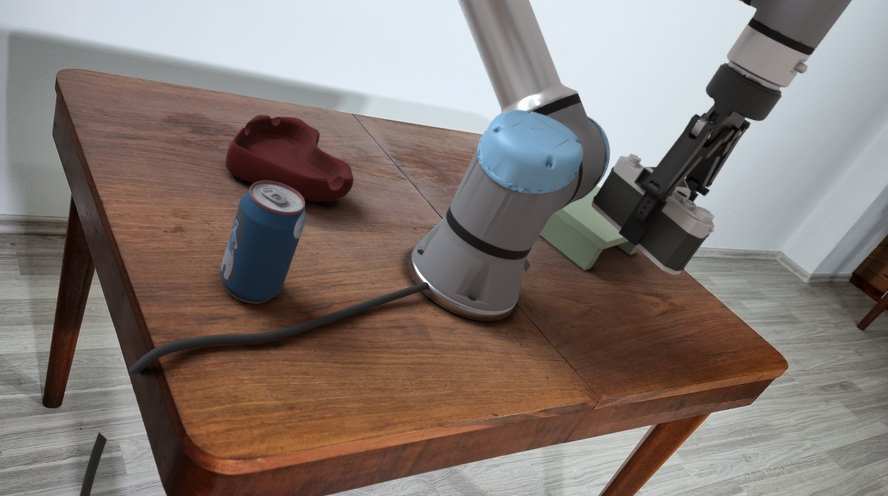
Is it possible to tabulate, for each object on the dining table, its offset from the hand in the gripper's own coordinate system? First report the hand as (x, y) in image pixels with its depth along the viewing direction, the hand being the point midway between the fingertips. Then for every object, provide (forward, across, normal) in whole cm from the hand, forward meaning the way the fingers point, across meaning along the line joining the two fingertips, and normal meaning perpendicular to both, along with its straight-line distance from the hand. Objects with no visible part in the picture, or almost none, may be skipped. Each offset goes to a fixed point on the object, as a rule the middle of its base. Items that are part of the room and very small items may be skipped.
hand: (645, 233), depth 92 cm
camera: (+1, 0, 0) cm, 1 cm away
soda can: (+15, -45, +20) cm, 51 cm away
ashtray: (+15, -27, +40) cm, 51 cm away
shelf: (+15, +20, +14) cm, 29 cm away
